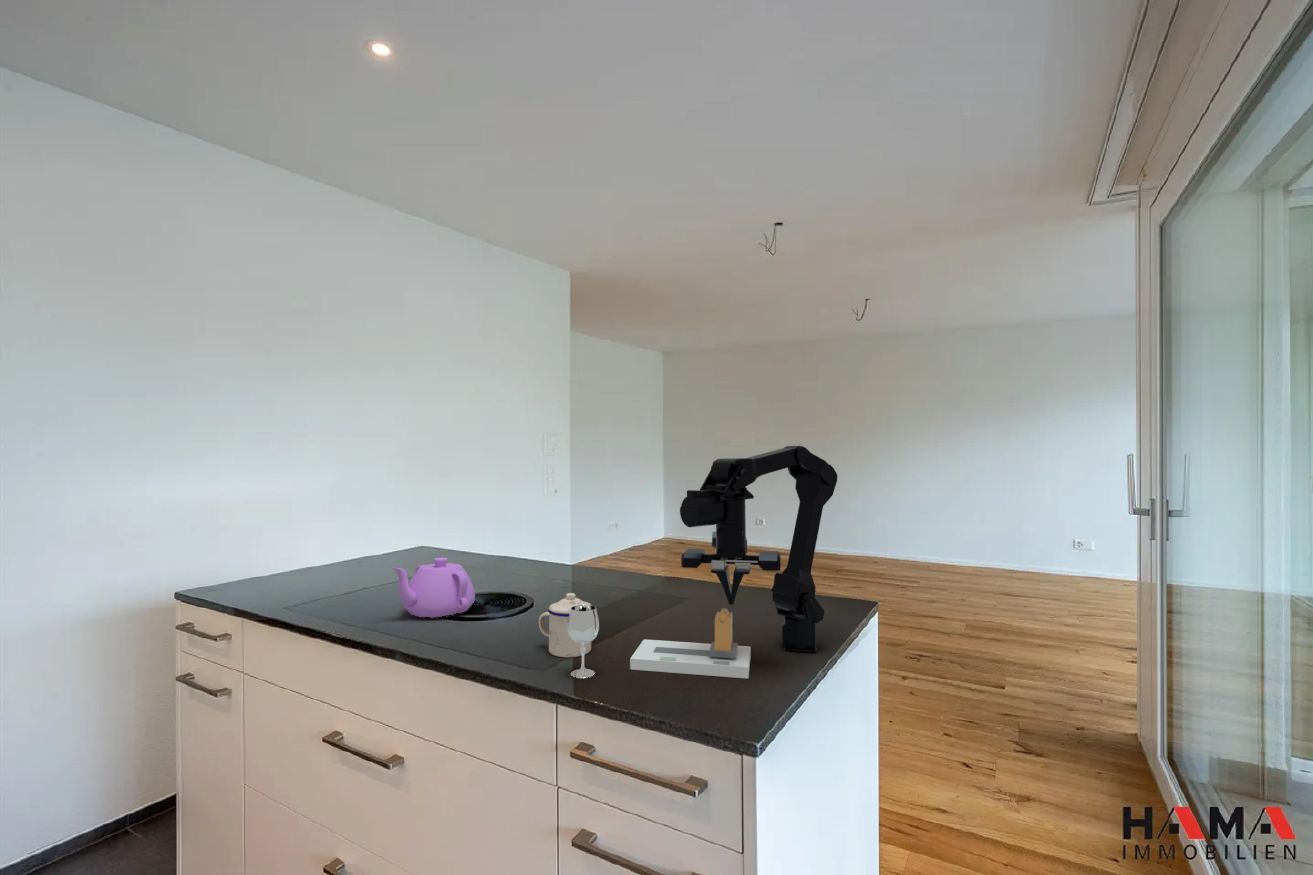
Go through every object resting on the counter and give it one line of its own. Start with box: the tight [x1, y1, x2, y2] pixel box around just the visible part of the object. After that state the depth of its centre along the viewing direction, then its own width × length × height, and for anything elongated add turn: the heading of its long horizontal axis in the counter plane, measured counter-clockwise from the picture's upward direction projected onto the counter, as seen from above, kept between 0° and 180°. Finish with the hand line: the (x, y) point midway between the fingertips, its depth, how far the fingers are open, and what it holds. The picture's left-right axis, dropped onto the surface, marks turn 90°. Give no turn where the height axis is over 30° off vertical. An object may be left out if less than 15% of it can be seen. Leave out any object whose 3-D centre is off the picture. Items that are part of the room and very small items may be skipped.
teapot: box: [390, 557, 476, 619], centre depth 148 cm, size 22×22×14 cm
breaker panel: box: [629, 639, 752, 679], centre depth 114 cm, size 22×12×2 cm, turn 79°
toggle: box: [709, 607, 739, 658], centre depth 113 cm, size 5×6×8 cm
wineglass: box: [568, 604, 600, 679], centre depth 108 cm, size 6×6×12 cm
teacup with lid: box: [538, 592, 592, 658], centre depth 121 cm, size 12×9×12 cm
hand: (731, 604), depth 113 cm, fingers closed
